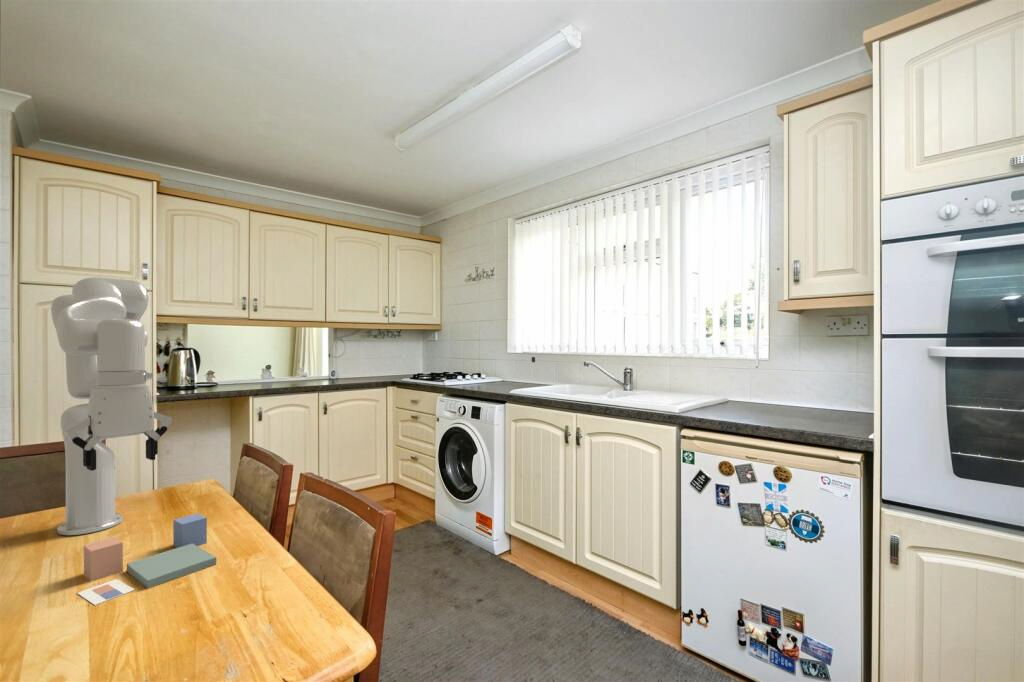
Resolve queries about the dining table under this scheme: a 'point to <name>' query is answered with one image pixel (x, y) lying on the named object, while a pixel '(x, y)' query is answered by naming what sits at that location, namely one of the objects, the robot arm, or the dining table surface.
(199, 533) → the brick
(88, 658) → the dining table surface
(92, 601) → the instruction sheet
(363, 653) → the dining table surface
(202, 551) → the baseplate
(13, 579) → the dining table surface
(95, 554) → the brick
